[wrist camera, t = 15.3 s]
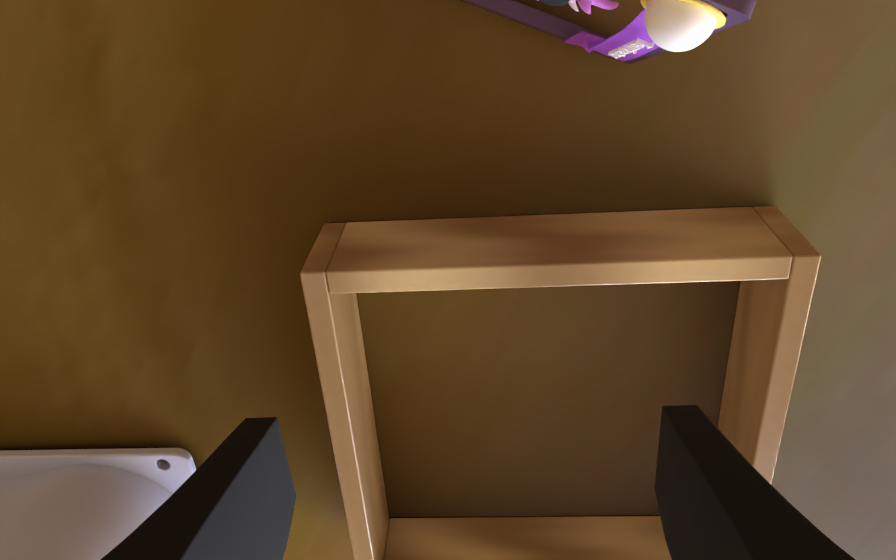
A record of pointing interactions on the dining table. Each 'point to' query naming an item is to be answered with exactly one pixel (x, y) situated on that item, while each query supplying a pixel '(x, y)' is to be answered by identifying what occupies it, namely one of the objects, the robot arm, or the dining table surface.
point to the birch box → (551, 265)
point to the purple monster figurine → (633, 24)
